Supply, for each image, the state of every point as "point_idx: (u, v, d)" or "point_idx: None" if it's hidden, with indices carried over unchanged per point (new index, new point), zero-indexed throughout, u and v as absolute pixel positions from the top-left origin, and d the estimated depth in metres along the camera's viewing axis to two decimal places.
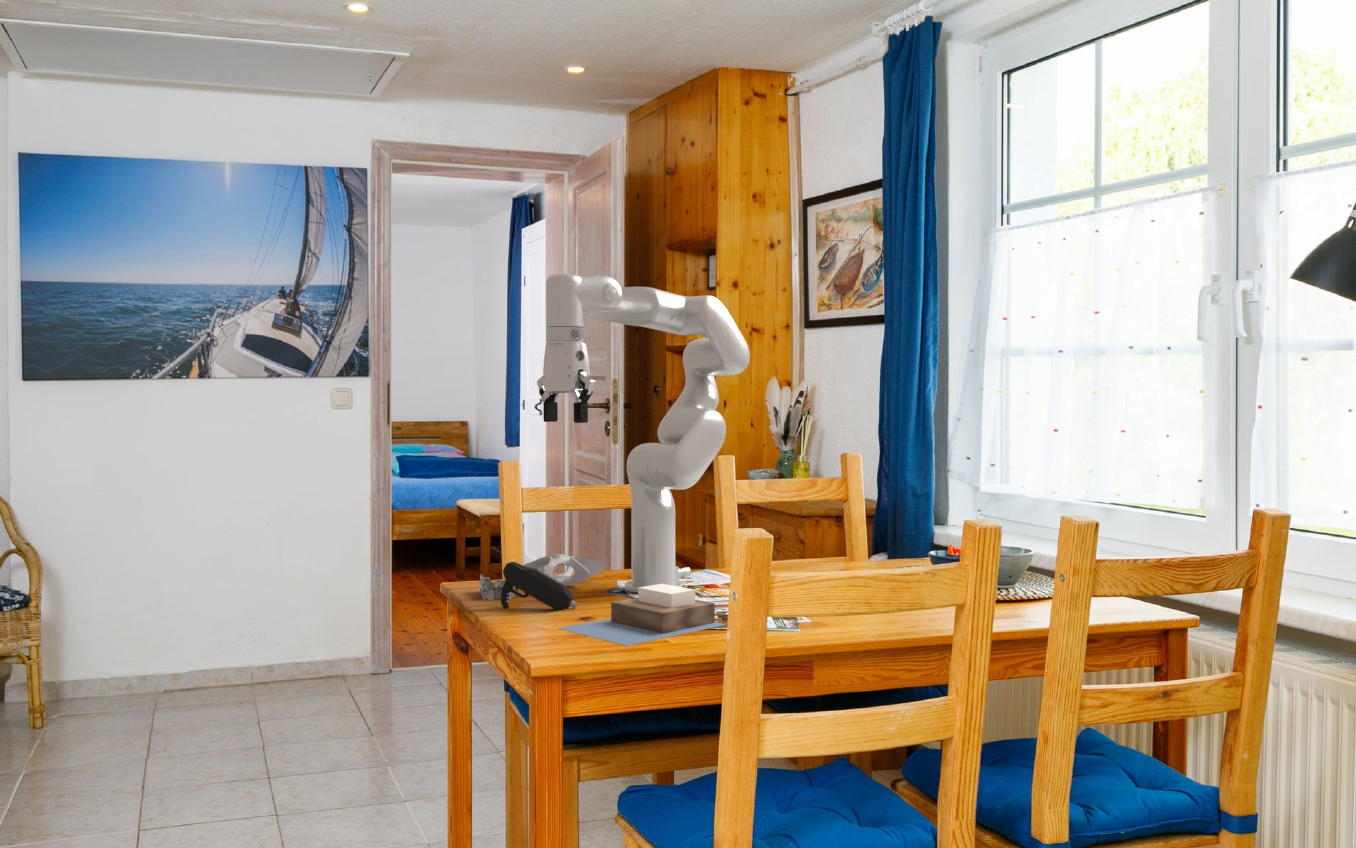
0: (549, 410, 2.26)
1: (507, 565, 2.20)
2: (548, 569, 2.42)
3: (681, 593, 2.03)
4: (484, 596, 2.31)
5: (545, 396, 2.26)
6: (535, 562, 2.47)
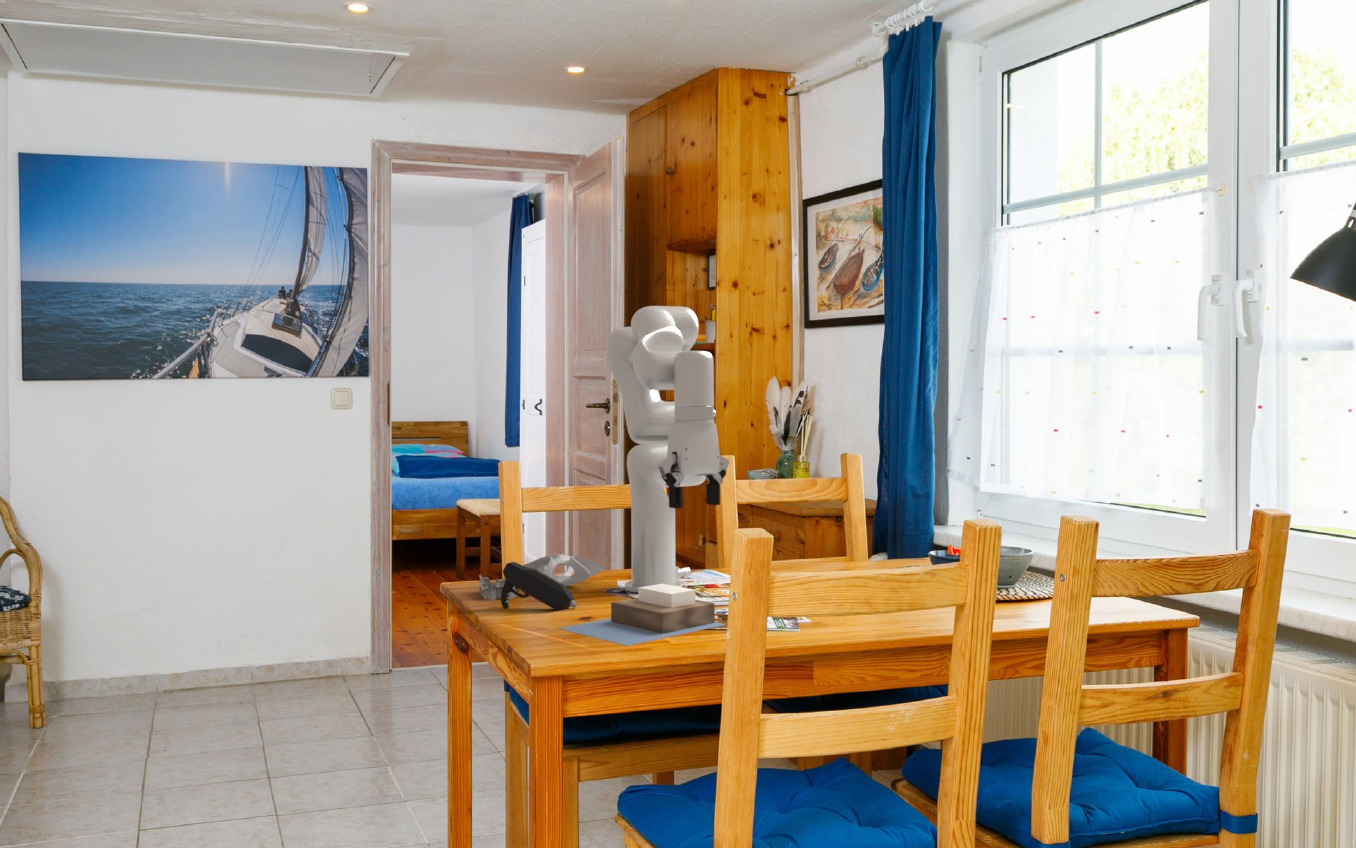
0: None
1: (507, 565, 2.20)
2: (548, 569, 2.42)
3: (681, 593, 2.03)
4: (486, 596, 2.30)
5: (680, 480, 2.07)
6: (535, 562, 2.47)
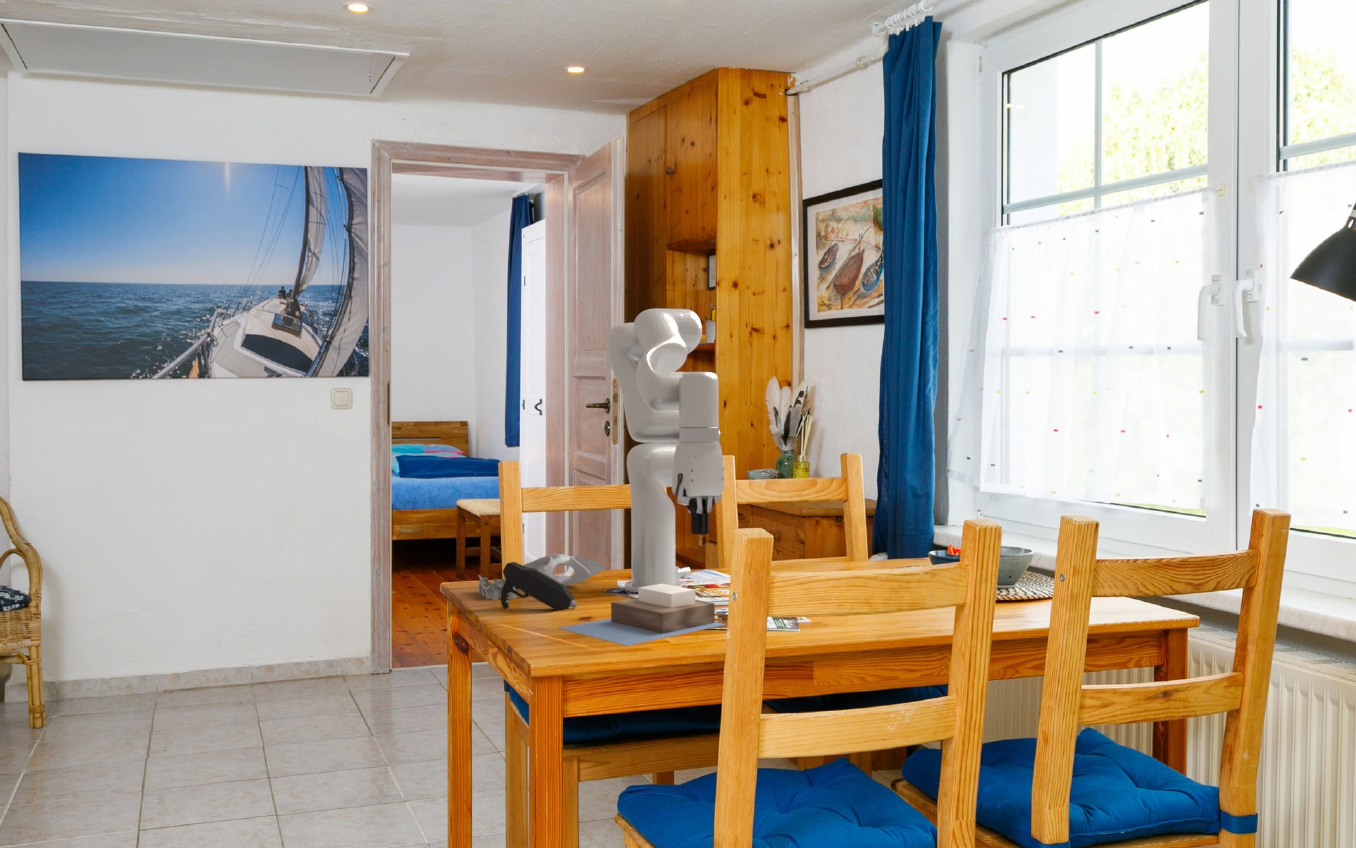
0: None
1: (507, 565, 2.20)
2: (548, 569, 2.42)
3: (681, 593, 2.03)
4: (488, 596, 2.30)
5: (700, 505, 2.10)
6: (535, 562, 2.47)
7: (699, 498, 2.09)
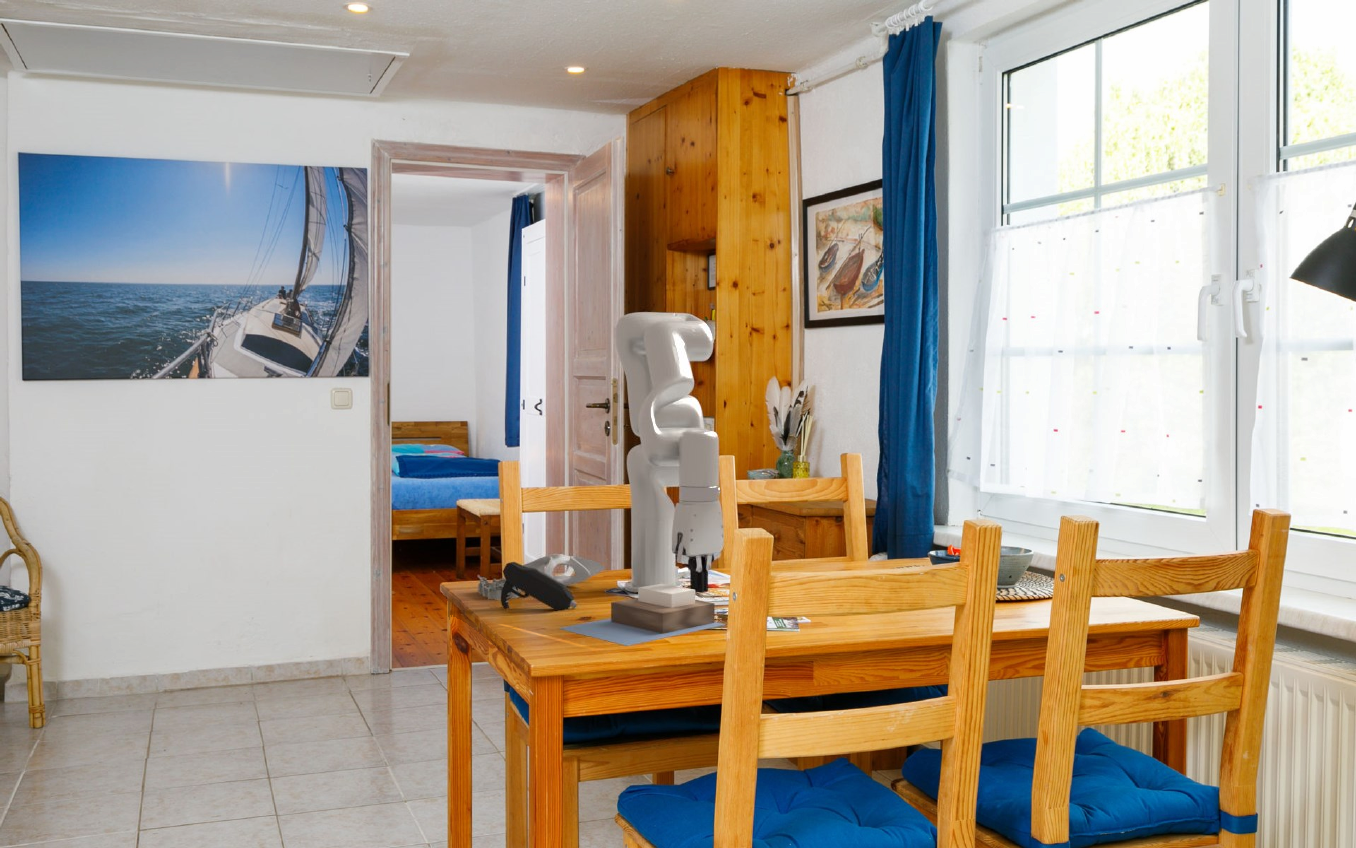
0: None
1: (507, 565, 2.20)
2: (548, 569, 2.42)
3: (681, 593, 2.03)
4: (491, 596, 2.30)
5: (700, 564, 2.10)
6: (535, 562, 2.47)
7: (698, 557, 2.10)
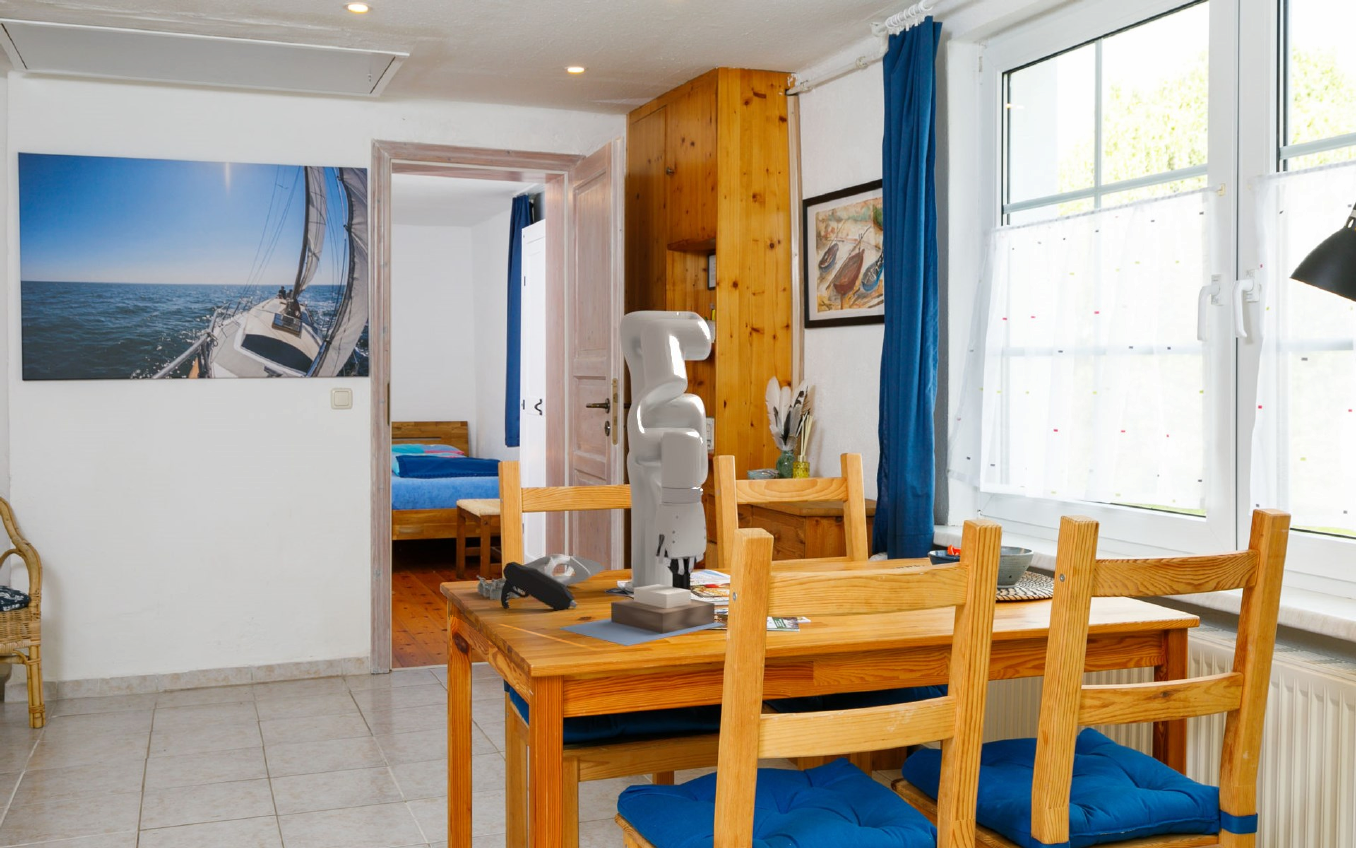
0: None
1: (507, 565, 2.20)
2: (548, 569, 2.42)
3: (676, 594, 2.02)
4: (493, 596, 2.31)
5: (682, 566, 2.07)
6: (535, 562, 2.47)
7: (681, 559, 2.07)
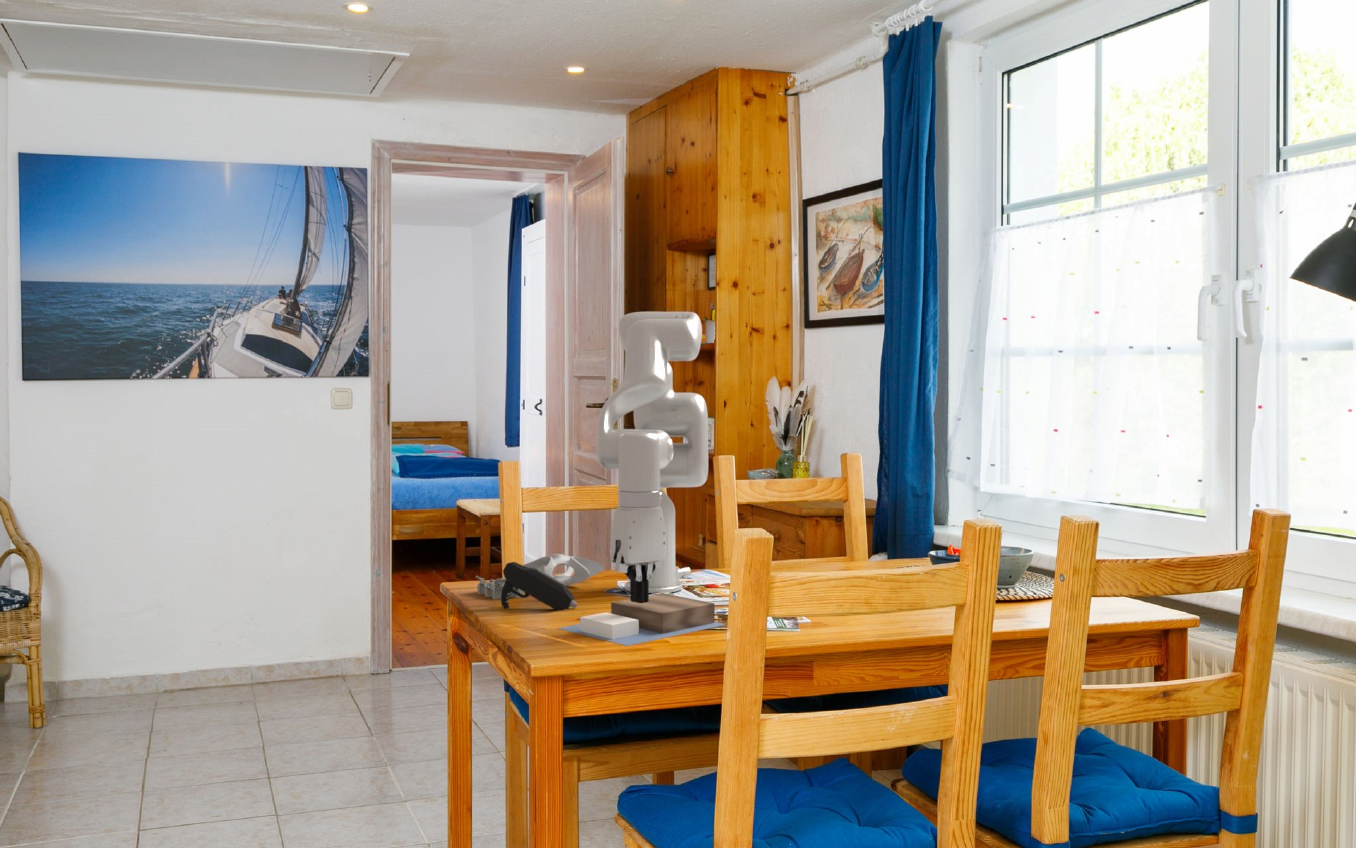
0: None
1: (507, 565, 2.20)
2: (548, 569, 2.42)
3: (627, 635, 1.94)
4: (496, 596, 2.31)
5: (639, 572, 2.00)
6: (535, 562, 2.47)
7: (638, 565, 1.99)
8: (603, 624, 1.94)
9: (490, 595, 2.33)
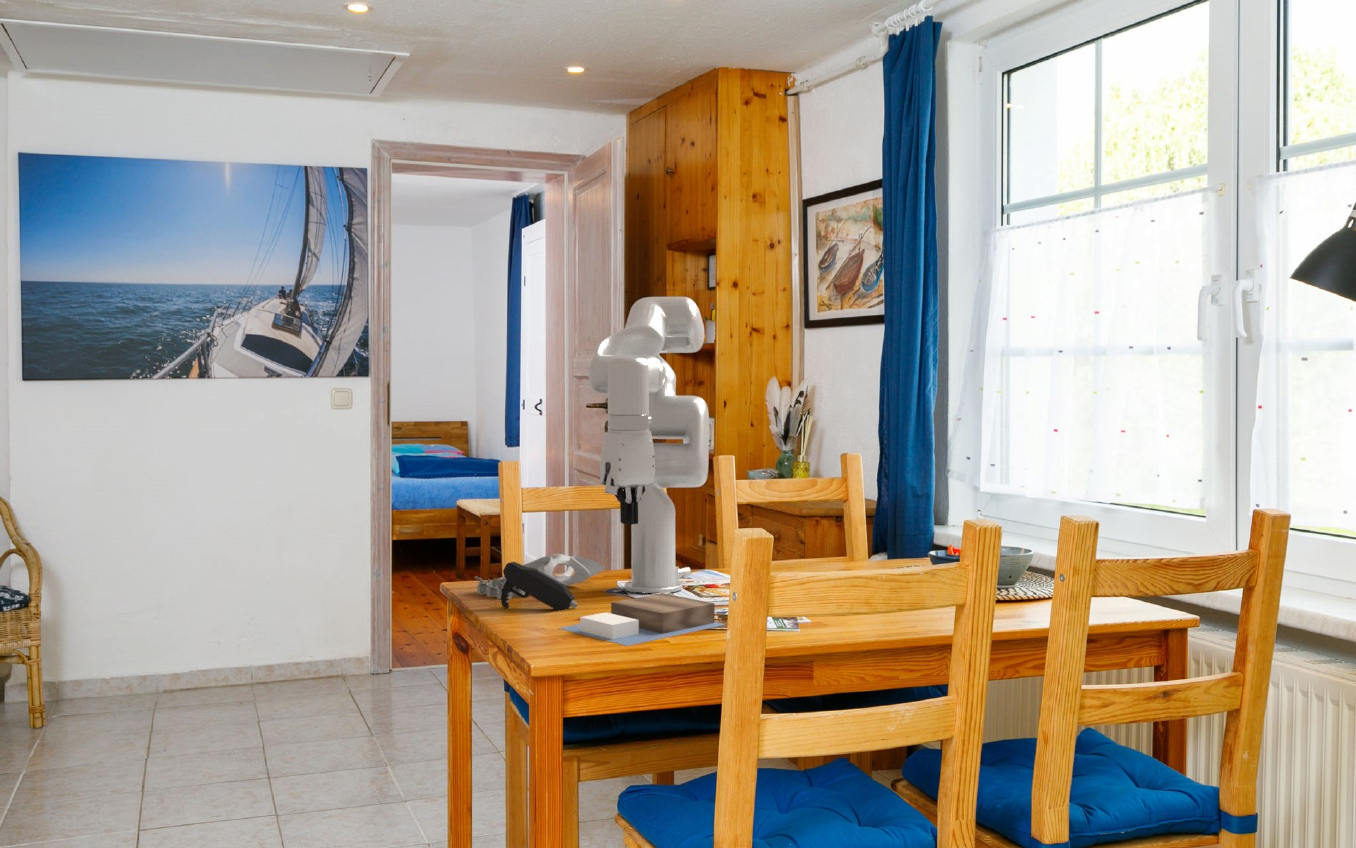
0: None
1: (507, 565, 2.20)
2: (548, 569, 2.42)
3: (627, 635, 1.94)
4: None
5: (629, 494, 2.03)
6: (535, 562, 2.47)
7: (628, 487, 2.03)
8: (603, 624, 1.94)
9: (493, 595, 2.33)
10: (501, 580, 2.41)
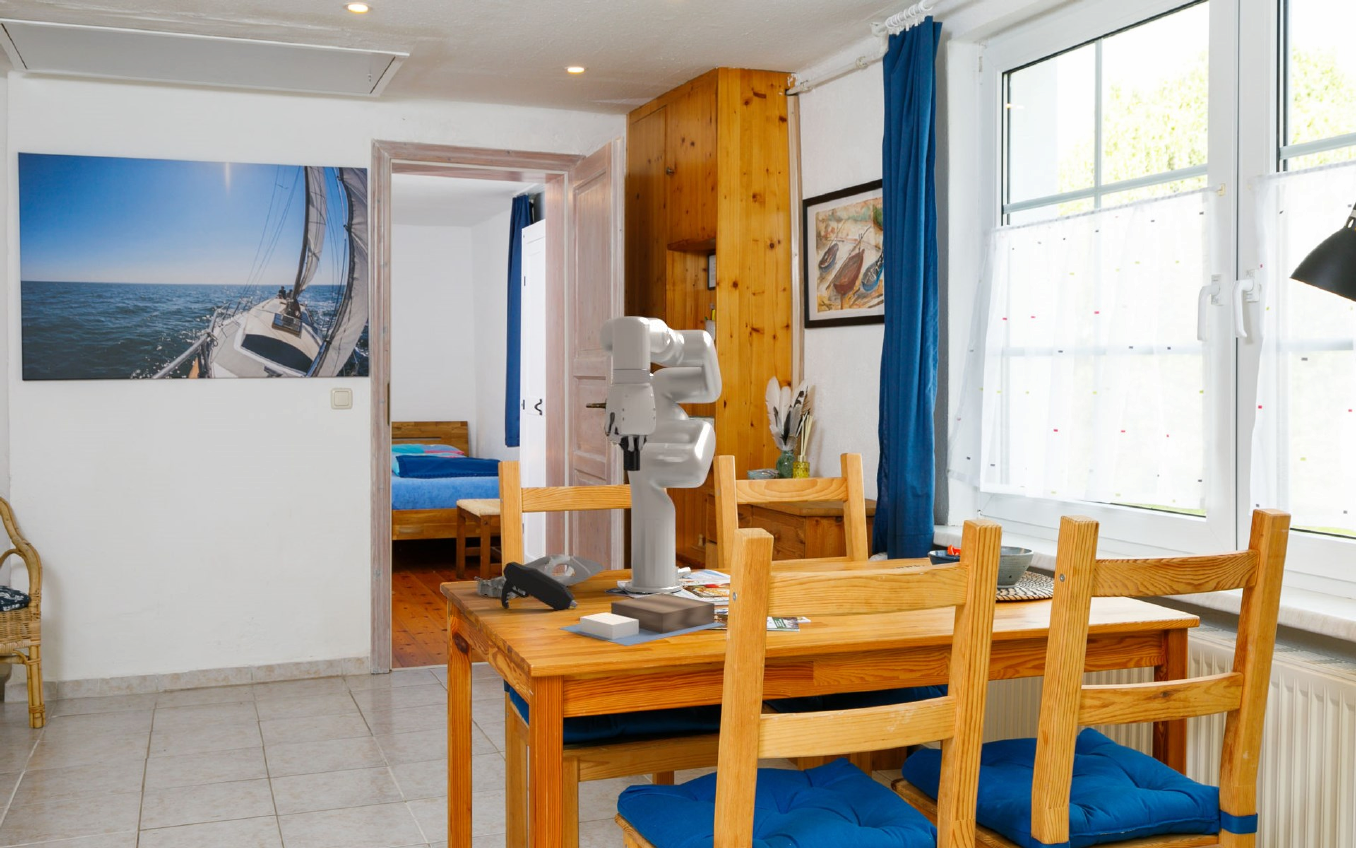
0: None
1: (507, 565, 2.20)
2: (548, 569, 2.42)
3: (627, 635, 1.94)
4: None
5: (632, 443, 2.21)
6: (535, 562, 2.47)
7: (631, 436, 2.21)
8: (603, 624, 1.94)
9: (495, 595, 2.33)
10: (498, 580, 2.41)
